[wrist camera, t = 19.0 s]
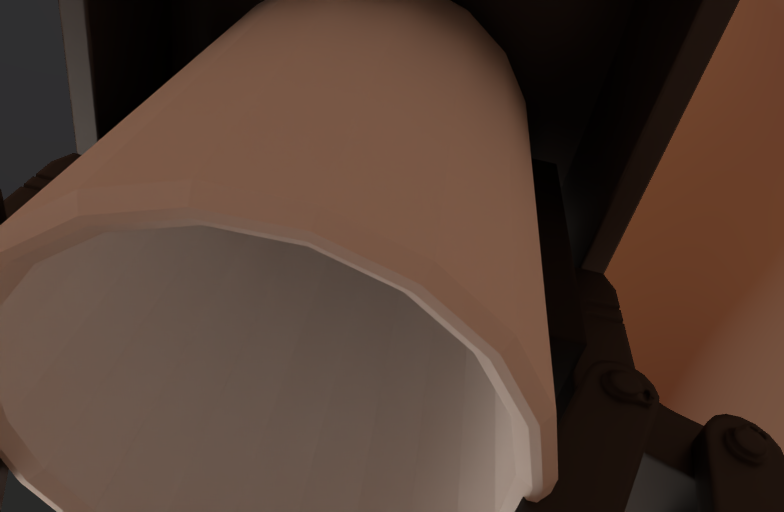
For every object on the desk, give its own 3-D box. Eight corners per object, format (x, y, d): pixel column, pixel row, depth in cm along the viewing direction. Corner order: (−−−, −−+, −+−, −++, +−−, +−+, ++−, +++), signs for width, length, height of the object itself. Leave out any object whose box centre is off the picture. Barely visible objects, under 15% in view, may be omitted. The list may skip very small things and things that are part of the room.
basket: (160, -211, 14) (29, -217, 10) (687, -88, 14) (763, -46, 10) (173, 315, 24) (108, 420, 20) (489, 387, 24) (489, 506, 20)
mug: (219, 330, 21) (53, 648, 13) (210, -62, 14) (-161, 120, 6) (456, 378, 21) (432, 730, 13) (570, 7, 14) (668, 284, 6)
